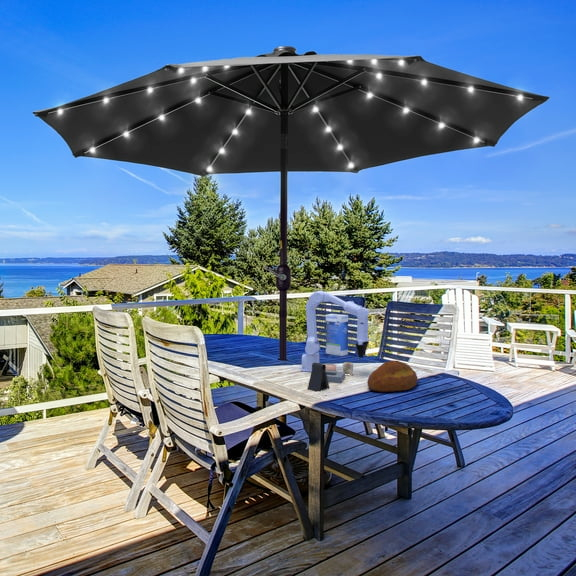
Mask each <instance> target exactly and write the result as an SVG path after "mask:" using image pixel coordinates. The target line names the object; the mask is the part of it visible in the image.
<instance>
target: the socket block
mask: <svg viewBox="0 0 576 576" xmlns="http://www.w3.org/2000/svg"><path fill="white" fill-rule="evenodd" d="M326 374H327V379H328V383H330V382H333V383H334V384H342V382H343V381H344V380H345V379H346V375H345V372H343V371H337V370H336V371H326ZM344 378H345V379H344ZM343 379H344V380H343ZM342 380H343V381H342ZM333 383H332V384H333Z"/></svg>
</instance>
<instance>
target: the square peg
mask: <svg viewBox="0 0 576 576" xmlns="http://www.w3.org/2000/svg"><path fill="white" fill-rule="evenodd" d="M342 372H345V374H350V375H351V374H352V373H353V374H354V363H353V362H348V361H347V362H346V361H345V362H343V364H342ZM353 374H352V375H353Z"/></svg>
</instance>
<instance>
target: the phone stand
mask: <svg viewBox="0 0 576 576" xmlns="http://www.w3.org/2000/svg"><path fill="white" fill-rule="evenodd" d="M325 364H326V363H320V362H319V363H313V364H312V372H310V378H309V381H308V385H307V390H309V389H310V390H309V391H313V390H314V392H317V391H319V392H321V390H322V391H325V390H327V388H328V389H330V384H329V383H330V382H328V379H327V374H326V365H325Z"/></svg>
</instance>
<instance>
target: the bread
mask: <svg viewBox="0 0 576 576" xmlns="http://www.w3.org/2000/svg"><path fill="white" fill-rule="evenodd" d="M417 384H418V375H417V372H416V371H414V369H413V368H412V367H411V365H409V364H407V363H405V362H403V361H400V360H390V361H385V362H383V363H382V364H380V366H378V367H377V368H376V369H375V370H373V371H372V372H371V374H369V376H368V379H367V386H368V388H369V389H371V390H372V391H374V392H379V393H384V392H385V393H386V392H403V391H409V390H410V389H412V388H414V387H416V386H417Z"/></svg>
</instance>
